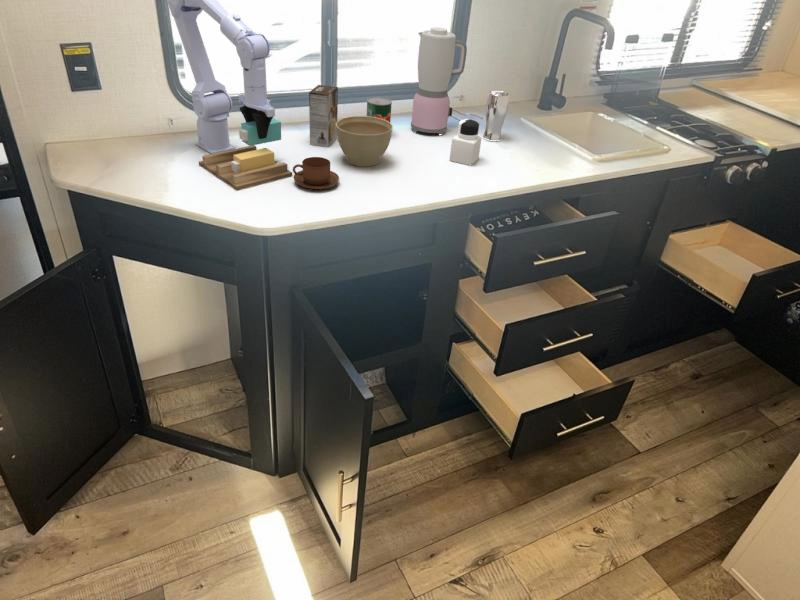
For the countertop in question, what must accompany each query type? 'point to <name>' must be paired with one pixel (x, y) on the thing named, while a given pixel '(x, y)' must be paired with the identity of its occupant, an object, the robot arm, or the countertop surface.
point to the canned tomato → (379, 108)
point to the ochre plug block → (252, 160)
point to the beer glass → (495, 114)
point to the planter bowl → (363, 139)
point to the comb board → (223, 170)
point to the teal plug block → (251, 136)
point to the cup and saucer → (315, 174)
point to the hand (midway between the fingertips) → (258, 135)
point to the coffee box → (323, 115)
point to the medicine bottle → (466, 143)
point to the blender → (435, 79)
